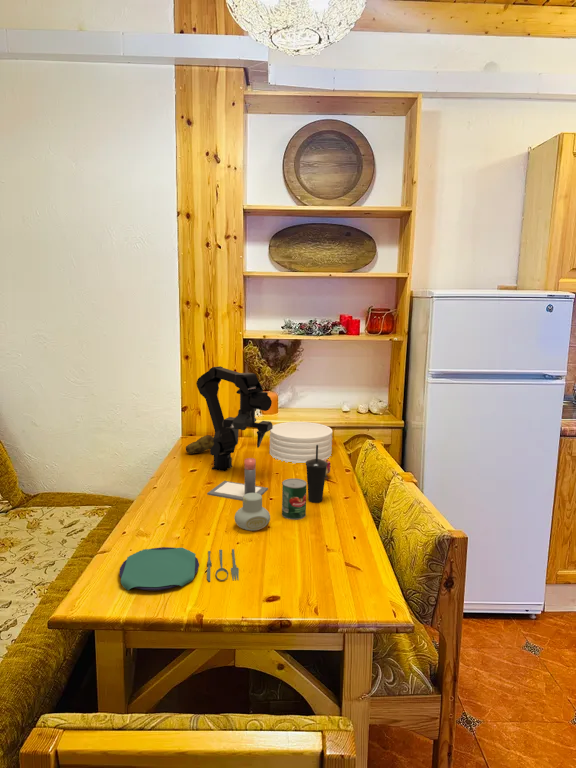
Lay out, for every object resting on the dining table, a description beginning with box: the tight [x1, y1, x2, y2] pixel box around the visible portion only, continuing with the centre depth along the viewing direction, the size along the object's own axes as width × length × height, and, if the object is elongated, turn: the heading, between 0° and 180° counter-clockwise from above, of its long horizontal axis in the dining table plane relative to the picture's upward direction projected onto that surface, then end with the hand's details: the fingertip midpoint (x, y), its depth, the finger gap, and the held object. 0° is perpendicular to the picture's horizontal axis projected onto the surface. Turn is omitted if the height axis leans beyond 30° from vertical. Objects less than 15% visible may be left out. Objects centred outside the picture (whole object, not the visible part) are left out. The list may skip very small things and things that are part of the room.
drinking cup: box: [305, 445, 328, 504], centre depth 175 cm, size 8×8×20 cm
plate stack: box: [269, 421, 333, 464], centre depth 227 cm, size 28×28×12 cm
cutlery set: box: [119, 546, 240, 591], centre depth 130 cm, size 20×30×2 cm, turn 99°
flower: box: [323, 459, 331, 480], centre depth 197 cm, size 10×9×8 cm
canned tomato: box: [281, 478, 308, 521], centre depth 164 cm, size 8×8×11 cm
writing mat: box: [206, 480, 269, 502], centre depth 182 cm, size 18×13×1 cm
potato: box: [185, 434, 214, 455], centre depth 225 cm, size 8×13×8 cm, turn 91°
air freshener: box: [234, 493, 271, 532], centre depth 155 cm, size 11×8×10 cm
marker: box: [244, 457, 256, 495], centre depth 176 cm, size 4×4×13 cm
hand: (247, 445), depth 194 cm, fingers open, 9 cm apart
